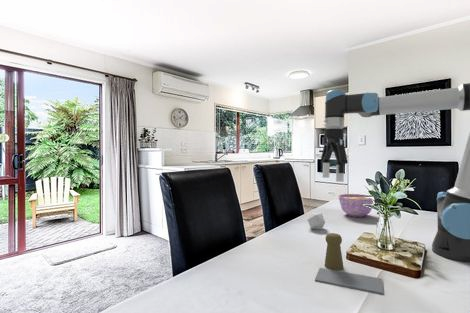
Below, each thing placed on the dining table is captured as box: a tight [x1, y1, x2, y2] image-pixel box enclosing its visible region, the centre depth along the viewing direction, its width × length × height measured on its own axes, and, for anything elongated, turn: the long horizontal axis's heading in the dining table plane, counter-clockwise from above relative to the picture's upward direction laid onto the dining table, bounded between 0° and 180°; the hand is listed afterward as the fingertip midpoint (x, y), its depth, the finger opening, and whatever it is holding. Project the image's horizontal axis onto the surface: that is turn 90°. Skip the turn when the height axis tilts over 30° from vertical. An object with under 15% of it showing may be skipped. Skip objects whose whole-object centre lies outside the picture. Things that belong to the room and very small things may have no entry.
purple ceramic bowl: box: [338, 193, 374, 218], centre depth 158 cm, size 20×20×12 cm
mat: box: [314, 267, 384, 296], centre depth 78 cm, size 18×9×1 cm, turn 63°
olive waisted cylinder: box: [324, 232, 344, 271], centre depth 88 cm, size 6×6×11 cm
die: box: [307, 212, 326, 231], centre depth 132 cm, size 8×9×10 cm
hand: (332, 179), depth 109 cm, fingers open, 13 cm apart
